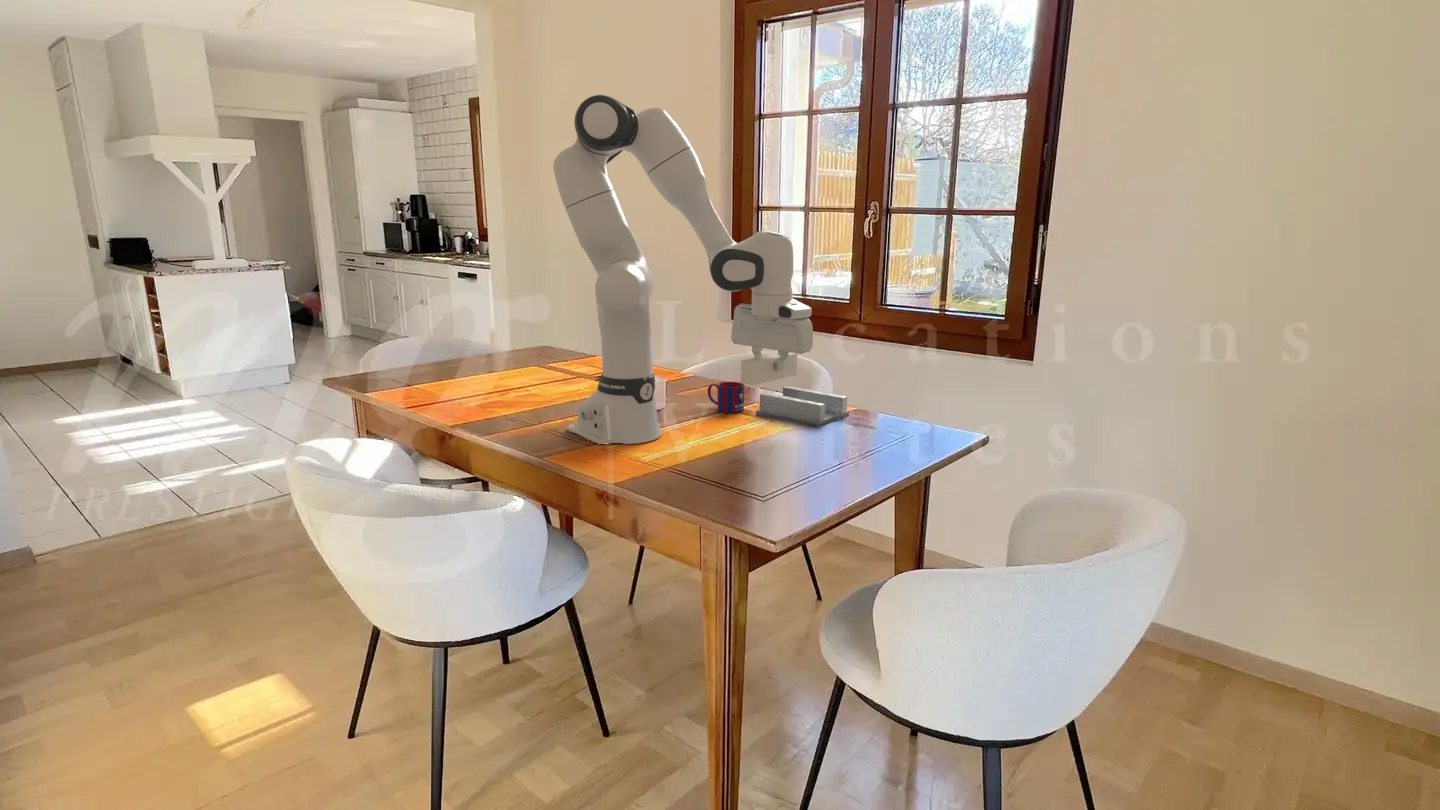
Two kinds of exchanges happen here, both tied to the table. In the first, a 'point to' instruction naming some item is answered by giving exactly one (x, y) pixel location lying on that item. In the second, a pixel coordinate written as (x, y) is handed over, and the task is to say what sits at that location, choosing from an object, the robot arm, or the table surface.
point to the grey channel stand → (803, 406)
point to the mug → (729, 397)
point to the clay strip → (766, 369)
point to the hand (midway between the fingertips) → (769, 368)
